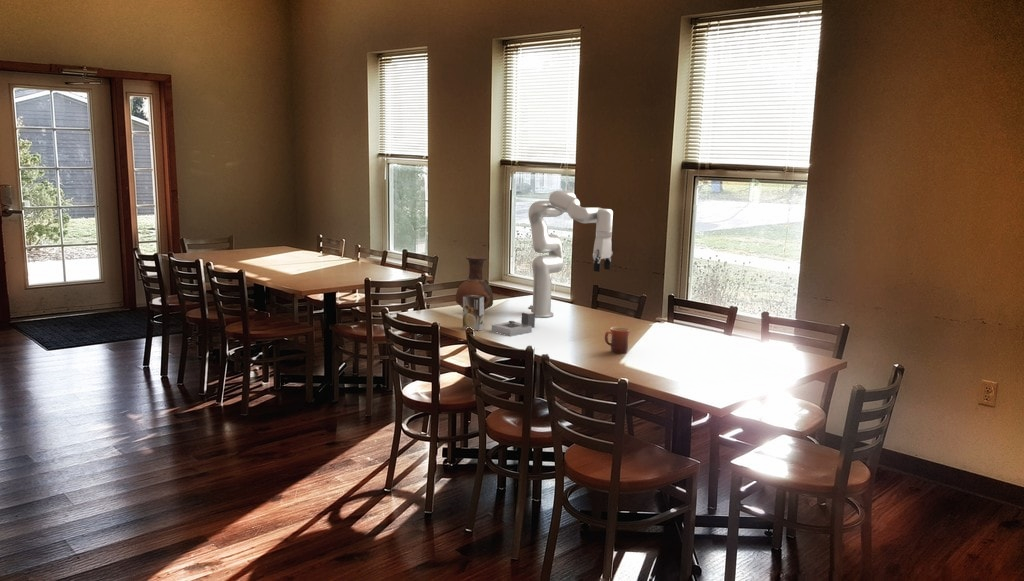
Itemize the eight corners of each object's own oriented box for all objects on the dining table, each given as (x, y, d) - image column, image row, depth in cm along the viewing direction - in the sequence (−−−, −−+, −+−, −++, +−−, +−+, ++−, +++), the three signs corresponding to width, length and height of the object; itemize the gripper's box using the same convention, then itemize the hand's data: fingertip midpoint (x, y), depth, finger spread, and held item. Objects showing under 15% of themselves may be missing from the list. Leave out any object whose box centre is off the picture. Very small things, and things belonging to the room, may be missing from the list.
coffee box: (484, 328, 382) (485, 295, 380) (479, 331, 377) (480, 297, 374) (467, 326, 386) (468, 294, 383) (461, 329, 380) (462, 296, 377)
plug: (521, 327, 388) (521, 312, 387) (527, 325, 392) (528, 311, 390) (527, 328, 385) (528, 313, 384) (534, 327, 388) (535, 312, 387)
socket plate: (491, 331, 377) (491, 323, 377) (512, 327, 387) (512, 320, 386) (510, 336, 368) (510, 328, 367) (531, 332, 378) (531, 324, 377)
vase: (504, 315, 414) (505, 258, 409) (474, 320, 401) (475, 261, 396) (473, 308, 432) (474, 253, 427) (444, 312, 419) (445, 255, 414)
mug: (621, 348, 350) (622, 326, 348) (633, 353, 342) (634, 330, 340) (598, 351, 344) (599, 328, 342) (610, 356, 337) (611, 332, 335)
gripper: (606, 233, 387) (604, 267, 390) (587, 235, 373) (585, 271, 376) (619, 234, 383) (617, 269, 386) (601, 236, 369) (599, 273, 372)
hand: (602, 270), depth 381 cm, fingers open, 9 cm apart
